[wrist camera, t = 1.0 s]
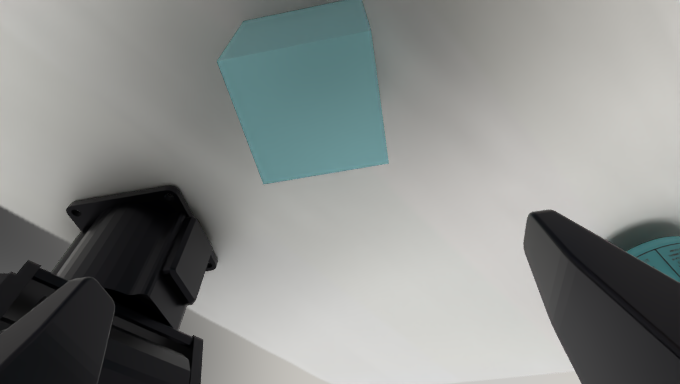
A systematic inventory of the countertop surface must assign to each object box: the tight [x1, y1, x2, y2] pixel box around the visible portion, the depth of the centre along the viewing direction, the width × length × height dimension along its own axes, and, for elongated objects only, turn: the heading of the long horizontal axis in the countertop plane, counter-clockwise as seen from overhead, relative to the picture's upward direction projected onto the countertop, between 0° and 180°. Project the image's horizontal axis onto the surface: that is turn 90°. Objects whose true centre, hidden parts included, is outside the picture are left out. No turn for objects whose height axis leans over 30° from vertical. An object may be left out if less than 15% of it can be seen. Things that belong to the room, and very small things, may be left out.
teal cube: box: [217, 0, 389, 184], centre depth 16 cm, size 5×5×5 cm
